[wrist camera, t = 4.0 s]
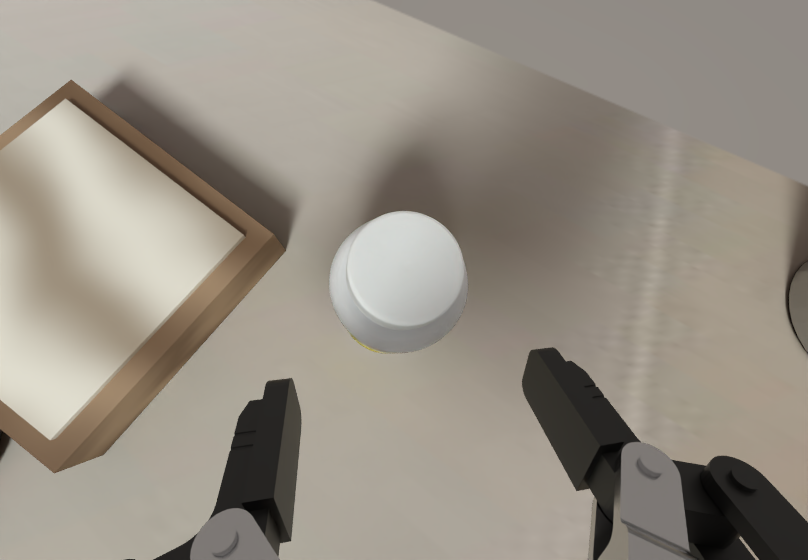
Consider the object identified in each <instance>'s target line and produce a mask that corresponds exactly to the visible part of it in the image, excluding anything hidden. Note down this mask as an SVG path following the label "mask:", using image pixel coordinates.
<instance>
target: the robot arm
mask: <svg viewBox="0 0 808 560" xmlns="http://www.w3.org/2000/svg"><path fill="white" fill-rule="evenodd" d="M789 309H790V314H791V319H792V323H793V326H794V328H795V331H796V333H797V336H798V338H799V340H800V341H801V343H802V345H803V346H804V348H805V350H806V351H807V352H808V261H807V262H806V263H804V264H803V265H802V266H801V267H800V269H799V270H798V271H797V272H796V274H795V276H794V278H793V281H792V283H791V288H790V293H789ZM522 387H523V392H524V395H525V397H526V399H527V401H528V403H529V405H530V407H531V408H532V410H533V412H534V414H535V416H536V417H537V419H538V421H539V423H540V425H541V427H542V428H543V430H544V432H545V434H546V436H547V438H548V439H549V441H550V443H551V445H552V447H553V449H554V450H555V452H556V454H557V456H558V458H559V460H560V461H561V463H562V465H563V467H564V469H565V471H566V472H567V474H568V476H569V478H570V480H571V482H572V483H573V485H574V487H575V489H576V491H579V490H584V489H590V490H591V491H592V493H593V495H594V496H595V497H594V499H593V503H592V515H591V528H590V540H589V552H588V560H755V558H754V557H753V556H752V554H751V553H750V552H749V551H748V549H747V548H746V547H745V545H744V544H743V543H742V541H741V540H740V539H739V537H740V536H741V537H742V538H743V539H744V541H745V542H746V543H747V544H748V546H749V547H750V548H751V550H752V551H753V552H754V553H755V555H756V556H757V557H758V559H759V560H808V522H807V521H806V520H805V519H804V518H803V517H802V516H801V515H800V514H799V513H798V512H797V511H796V509H795V508H794V507H793V506H792V505H791V504H790V503H789V502H788V501H787V500H786V499H785V498H784V497H783V496H782V495H781V494H780V492H779V491H778V490H777V489H776V488H775V487H774V486H773V485H772V484H771V483H770V482H769V481H768V480H767V479H766V478H765V477H764V476H763V475H762V474H761V473H760V472H759V471H757V470H756V469H755V468H753V467H752V466H750V465H749V464H747V463H745V462H743V461H741V460H739V459H736V458H733V457H729V456H717V457H714V458H713V459H712V460H711V461H710V462H709V463H708V465H707V466H704V465H698V464H692V463H686V462H680V461H675V460H671V459H670V458H669V457H668V456H667V455H666V454H664V453H663V452H662V451H660V450H659V449H657V448H655V447H653V446H651V445H649V444H646V443H641V442H640V441H639V439H638V438H637V437H636V436H635V435H634V433H633V432H632V431H631V429H630V428H629V427H628V426H627V424H626V423H625V422H624V420H623V419H622V418H621V417H620V415H619V414H618V413H617V411H616V410H615V409H614V408H613V406H612V405H611V404H610V402H609V401H608V400H607V399H606V398H604V395H603V393H602V392H601V391H600V389H599V388H598V387H596V384H595V383H594V382H593V380H592V379H591V378H590V377H589V375H588V374H587V373H586V371H584V370H583V369H582V368H580V367H579V366H577V365H576V364H575V363H573V362H572V361H565V360H564V358H563V357H562V356H561V354H560V353H559V352H558V350H557V349H555V348H553V347H552V348H544V349H535V350H531V351H530V353H529V356H528V360H527V364H526V368H525V371H524V375H523V379H522ZM300 435H301V410H300V405H299V401H298V397H297V393H296V389H295V385H294V382H293V379H292V378H289V379H281V380H272V381H267V383H266V386H265V390H264V395H263V399H261V400H253V401H250V402H249V403H248V404H247V406H246V407H245V409H244V410H243V411H242V413H241V414H240V416H239V418H238V422H237V426H236V430H235V436H234V437H233V441H232V445H231V451H230V453H229V456H228V460H227V464H226V468H225V472H224V476H223V479H222V483H221V487H220V491H219V495H218V498H217V502H216V506H215V509H214V511H213V513H212V515H211V517H210V519H209V520H208V521H207V522H206V523H205V525H204V526H203V527H202V528H201V529H200V531H199V532H198V533H197V534H196V535H195V536H194V537H193V538H192V539H190V540H189V541H188V542H186V543H184V544H183V545H181V546H179V547H177V548H175V549H173V550H171V551H169V552H167V553H165V554H163V555H162V556H160V557H158V558H156V559H154V560H280V559H279V558H278V555H279V546H280V543H283V542H289V541H291V536H292V524H293V513H294V502H295V491H296V480H297V469H298V458H299V446H300ZM126 560H135V559H126Z"/></svg>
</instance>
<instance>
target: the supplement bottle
mask: <svg viewBox="0 0 808 560" xmlns="http://www.w3.org/2000/svg"><path fill="white" fill-rule="evenodd" d="M329 289H330V296H331V300H332V304H333V307H334V309H335V312H336V314H337V316H338V318H339V319H340V321H341V323H342V324H343V326H344V327H345V328H346V329H347V331H348V332H349V333H350V335H351V336H352V337H353V338H354V340H356V341H357V342H358V343H359V344H360V345H362V346H363V347H365V348H367V349H369V350H372V351H375V352H378V353H385V354H391V353H408V352H413V351H418V350H421V349H424V348H426V347H428V346H430V345H432V344H434V343H436V342H437V341H439V340H440V339H442V338H443V337H444V336H445V335H446V334H447V333H448V332H449V331H450V330H451V329H452V328H453V327H454V326H455V324H456V323H457V321H458V320H459V318H460V316H461V314H462V312H463V309H464V307H465V303H466V300H467V294H468V277H467V271H466V267H465V263H464V260H463V256H462V252H461V249H460V247H459V245H458V243H457V241H456V239H455V238H454V236H453V235H452V234H451V233H450V231H449V230H448V229H447V228H446V227H445V226H444V225H442V224H441V223H440V222H438V221H437V220H435V219H433V218H431V217H429V216H427V215H425V214H421V213H418V212H413V211H395V212H390V213H386V214H384V215H381V216H379V217H377V218H375V219H373V220H371V221H369V222H367V223H365V224H363V225H361V226H360V227H358V228H357V229H356V230H354V231H353V232H352V233H351V234H350V235H349V236H348V237H347V238H346V239H345V240H344V241H343V243H342V244H341V246H340V247H339V249H338V251H337V252H336V255H335V257H334V259H333V262H332V265H331V269H330V276H329Z"/></svg>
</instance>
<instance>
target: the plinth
mask: <svg viewBox="0 0 808 560" xmlns="http://www.w3.org/2000/svg"><path fill="white" fill-rule="evenodd" d="M285 251H286V250H285V249H284V247H283V246H282V245H281V243H280V242H279V241H278V239H277V238H276V237H275V235H274V234H273V233H272V232H270V231H269V230H268V229H266V228H265V227H264V226H262V225H261V224H260V223H258V222H257V221H256V220H255V219H253V218H252V217H251V216H249V215H248V214H247V213H245V212H244V211H243V210H241V209H240V208H239V207H238V206H236V205H235V204H234V203H232V202H231V201H230V200H228V199H227V198H226V197H224V196H223V195H222V194H220V193H219V192H218V191H217V190H215V189H214V188H213V187H211V186H210V185H209V184H207V183H206V182H205V181H203V180H202V179H201V178H199V177H198V176H197V175H196V174H194V173H193V172H192V171H190V170H189V169H188V168H186V167H185V166H184V165H182V164H181V163H180V162H178V161H177V160H176V159H175V158H173V157H172V156H171V155H169V154H168V153H167V152H165V151H164V150H163V149H161V148H160V147H159V146H158V145H156V144H155V143H154V142H152V141H151V140H150V139H148V138H147V137H146V136H144V135H143V134H142V133H140V132H139V131H138V130H137V129H135V128H134V127H133V126H131V125H130V124H129V123H127V122H126V121H125V120H123V119H122V118H121V117H119V116H118V115H117V114H116V113H114V112H113V111H112V110H110V109H109V108H108V107H106V106H105V105H104V104H102V103H101V102H100V101H99V100H97V99H96V98H95V97H93V96H92V95H91V94H89V93H88V92H87V91H85V90H84V89H83V88H81V87H80V86H79V85H78V84H76V83H75V82H74V81H72V80H70V81H69V82H68V83H66V84H65V85H64V86H62V87H61V88H60V89H59V90H57V91H56V92H55V93H54V94H52V95H51V96H50V97H48V98H47V99H46V100H45V101H43V102H42V103H41V104H40V105H38V106H37V107H36V108H34V109H33V110H32V111H31V112H29V113H28V114H27V115H25V116H24V117H23V118H22V119H20V120H19V121H18V122H17V123H15V124H14V125H13V126H11V127H10V128H9V129H8V130H6V131H5V132H4V133H3V134H1V135H0V429H1V430H2V431H3V432H5V433H6V434H7V435H8V436H9V437H11V438H12V439H13V440H14V441H16V442H17V443H18V444H19V445H20V446H22V447H23V448H24V449H25V450H27V451H28V452H29V453H30V454H31V455H33V456H34V457H35V458H36V459H37V460H39V461H40V462H41V463H42V464H44V465H45V466H46V467H47V468H48V469H50V470H51V471H52V472H53V473H56V472H59V471H62V470H64V469H67V468H70V467H72V466H75V465H78V464H80V463H83V462H86V461H88V460H91V459H94V458H96V457H99V456H102V455H104V454H105V453H106V451H107V450H108V449H109V448H110V447H111V446H112V445H113V444H114V442H115V441H116V440H117V439H118V438H119V437H120V436H121V435H122V434H123V432H124V431H125V430H126V429H127V428H128V427H129V426H130V425H131V423H132V422H133V421H134V420H135V419H136V418H137V417H138V416H139V415H140V413H141V412H142V411H143V410H144V409H145V408H146V407H147V406H148V404H149V403H150V402H151V401H152V400H153V399H154V398H155V397H156V395H157V394H158V393H159V392H160V391H161V390H162V389H163V388H164V387H165V385H166V384H167V383H168V382H169V381H170V380H171V379H172V378H173V376H174V375H175V374H176V373H177V372H178V371H179V370H180V369H181V368H182V366H183V365H184V364H185V363H186V362H187V361H188V360H189V359H190V357H191V356H192V355H193V354H194V353H195V352H196V351H197V350H198V349H199V347H200V346H201V345H202V344H203V343H204V342H205V341H206V340H207V338H208V337H209V336H210V335H211V334H212V333H213V332H214V331H215V329H216V328H217V327H218V326H219V325H220V324H221V323H222V322H223V321H224V319H225V318H226V317H227V316H228V315H229V314H230V313H231V312H232V310H233V309H234V308H235V307H236V306H237V305H238V304H239V303H240V302H241V300H242V299H243V298H244V297H245V296H246V295H247V294H248V293H249V291H250V290H251V289H252V288H253V287H254V286H255V285H256V284H257V282H258V281H259V280H260V279H261V278H262V277H263V276H264V275H265V274H266V272H267V271H268V270H269V269H270V268H271V267H272V266H273V265H274V263H275V262H276V261H277V260H278V259H279V258H280V257H281V256H282V255H283V253H284V252H285Z"/></svg>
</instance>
